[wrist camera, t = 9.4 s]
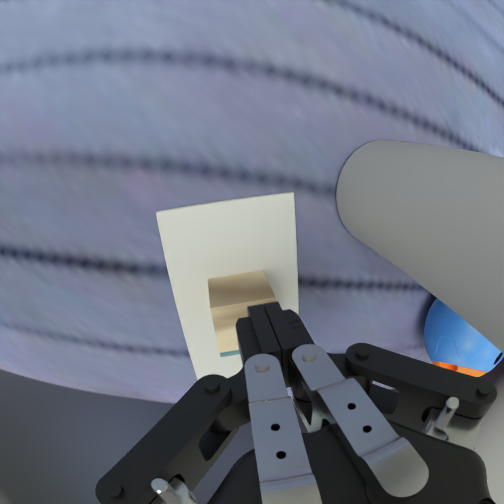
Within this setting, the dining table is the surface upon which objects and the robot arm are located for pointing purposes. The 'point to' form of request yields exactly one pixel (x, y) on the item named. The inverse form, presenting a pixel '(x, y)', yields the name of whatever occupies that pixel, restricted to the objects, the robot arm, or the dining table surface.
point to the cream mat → (227, 262)
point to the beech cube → (235, 304)
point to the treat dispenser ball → (457, 343)
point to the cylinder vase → (433, 222)
